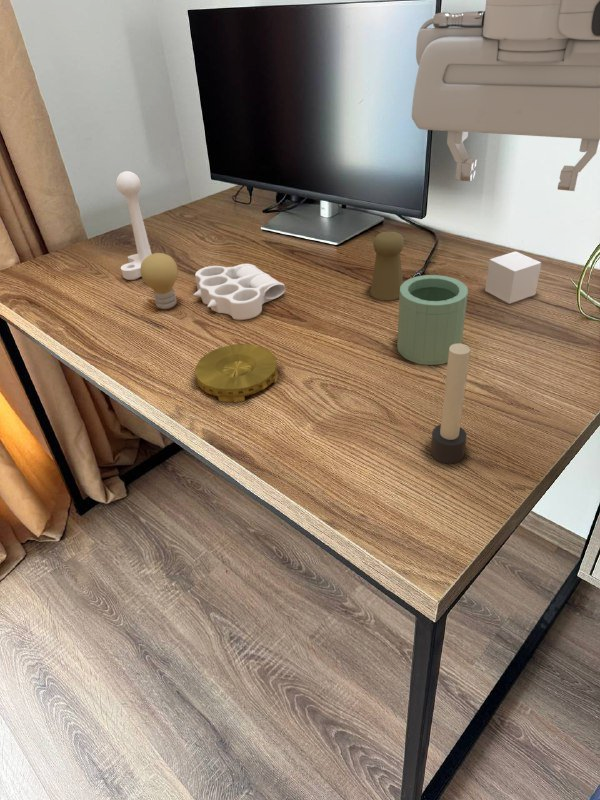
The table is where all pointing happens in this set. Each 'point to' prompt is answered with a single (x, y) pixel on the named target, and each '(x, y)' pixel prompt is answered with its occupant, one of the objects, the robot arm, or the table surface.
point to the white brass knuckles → (236, 289)
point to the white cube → (512, 277)
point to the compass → (236, 371)
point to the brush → (452, 409)
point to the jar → (430, 318)
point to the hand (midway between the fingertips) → (514, 184)
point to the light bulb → (160, 278)
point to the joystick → (134, 224)
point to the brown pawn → (387, 266)
